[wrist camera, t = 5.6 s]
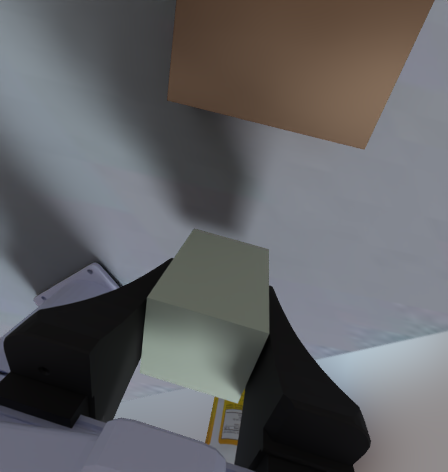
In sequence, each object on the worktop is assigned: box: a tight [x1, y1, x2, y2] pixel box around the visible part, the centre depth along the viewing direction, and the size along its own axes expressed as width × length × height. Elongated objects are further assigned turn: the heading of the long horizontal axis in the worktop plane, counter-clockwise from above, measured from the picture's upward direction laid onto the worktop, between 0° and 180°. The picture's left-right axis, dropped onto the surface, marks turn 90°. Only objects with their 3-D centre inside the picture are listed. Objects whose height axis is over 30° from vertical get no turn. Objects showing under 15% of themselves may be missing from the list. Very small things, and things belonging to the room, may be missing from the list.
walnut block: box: [167, 0, 434, 149], centre depth 10 cm, size 9×9×4 cm
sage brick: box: [140, 229, 269, 404], centre depth 12 cm, size 4×4×6 cm
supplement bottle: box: [205, 388, 245, 464], centre depth 20 cm, size 5×5×10 cm
